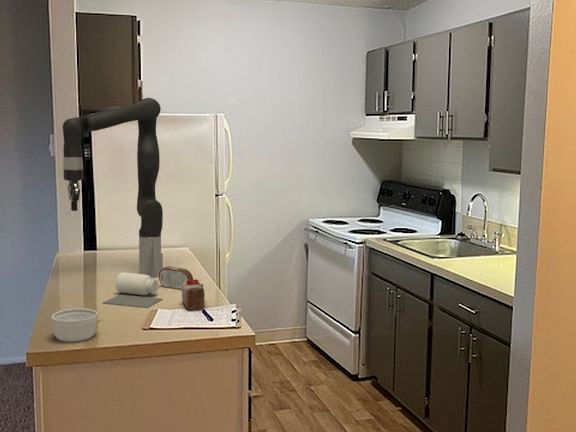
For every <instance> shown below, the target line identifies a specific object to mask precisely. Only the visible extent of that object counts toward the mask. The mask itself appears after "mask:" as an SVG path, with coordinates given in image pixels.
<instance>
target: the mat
mask: <svg viewBox="0 0 576 432" xmlns="http://www.w3.org/2000/svg"><path fill="white" fill-rule="evenodd" d="M162 301H163V298H161V297H150V296H148V297H147V296H141V295H131V294H117V295H116V296H113V297H111V298H109V299H108V300H104V301H103V302H102V304H104V305H113V306H115V305H116V306H122V307H123V306H125V307H131V308H132V307H133V308H134V307H135V308H144V309H149V308H150V307H152V306H154V305H156V304H158V303H159V302H162Z"/></svg>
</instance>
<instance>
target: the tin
mask: <svg viewBox="0 0 576 432" xmlns="http://www.w3.org/2000/svg"><path fill="white" fill-rule="evenodd" d="M187 280H194V276H193V274H192V273H191V271H189V270H188V269H187V268H182V267H176V266H175V267H174V266H165V267H163V269H162V270H161V271H160V272H159V276H158V282H159V283H160V285H162V287H164V288H166V289H172V290H173V289H175V290H179V291H182V283H183V281H187Z"/></svg>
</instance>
